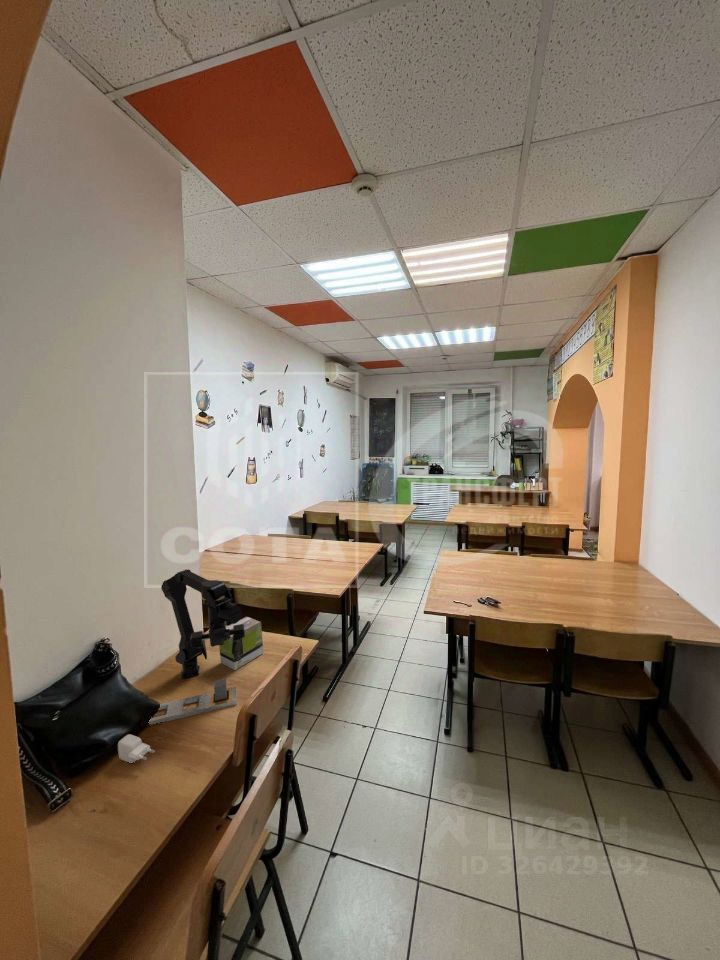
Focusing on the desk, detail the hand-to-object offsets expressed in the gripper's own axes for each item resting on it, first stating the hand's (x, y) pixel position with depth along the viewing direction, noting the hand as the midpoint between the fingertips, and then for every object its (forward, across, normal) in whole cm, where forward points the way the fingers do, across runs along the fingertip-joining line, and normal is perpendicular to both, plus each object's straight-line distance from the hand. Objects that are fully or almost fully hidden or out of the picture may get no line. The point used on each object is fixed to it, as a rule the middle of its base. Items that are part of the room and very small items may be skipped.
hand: (219, 656), depth 141 cm
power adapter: (+13, -23, -26) cm, 37 cm away
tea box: (+13, +8, +17) cm, 23 cm away
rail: (+12, -10, -8) cm, 18 cm away
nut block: (+12, 0, -8) cm, 15 cm away
